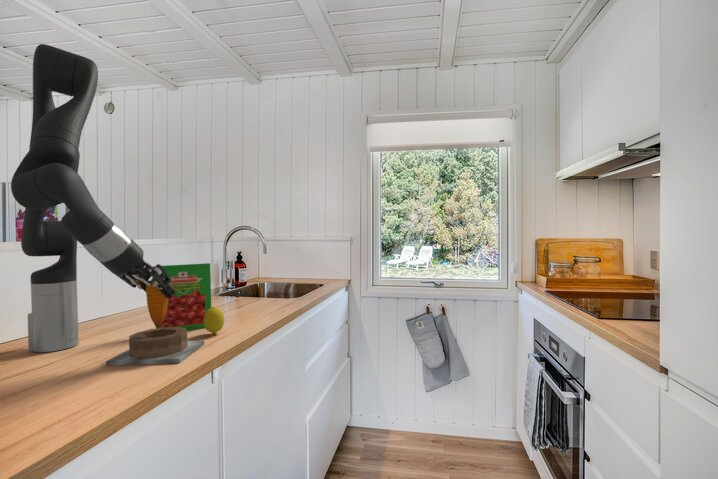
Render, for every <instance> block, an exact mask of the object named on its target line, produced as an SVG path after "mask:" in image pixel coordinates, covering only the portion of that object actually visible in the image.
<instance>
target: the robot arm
mask: <svg viewBox="0 0 718 479" xmlns="http://www.w3.org/2000/svg"><path fill="white" fill-rule="evenodd" d="M98 83H99V70H98V65H97V64H96V62H95V61H94V60H93V59H90V58H88V57H85V56H83V55H80V54H77V53H74V52H70V51H67V50H64V49H61V48H60V47H59V48H58V47H55V46H52V45H49V44H45V43H40V44H38V45H37V46H36V48H35V51H34V54H33V60H32V120H31V121H32V123H31V131H30V132H31V133H30V139H29V140H30V141H29V146H28V147H29V148H28V151H27V153H26V154H25V156H23V158H22V160H21V161H20V162H19V163H20V164H19V165H18V166H17V168H16V169H15V172H14V173H13V175H12V178H11V180H10V181H11V182H10V191H11V193H12V197H13V198H14V200H15V201H16V202H17V203H18V205H20V206H22V207H23V208H25V210H24V216H23V222H22V228H21V235H20V236H21V237H20V244H21V250H22V252H23V254H24V255H26V256H27V257H55V256H56V257H57V256H59V257H58V258H59V259H58V260H57V261H56V262H55V263H53V264H51V265H49V266H47V267H44V268H41V269H38V270H35V271H33V272H31V274H30V298H31V301H30V302H31V303H30V304H31V312H29V313H28V314H27V337H28V338H27V340H28V341H27V342H28V343H27V344H28V345H27V346H28V352H34V353H51V352H57V351H62V350H67V349H70V348H73V347H76V346H77V345H79V343H80V342H79V341H80V340H79V339H80V338H79V312H78V311H79V310H78V309H79V307H78V282H77V280H78V278H77V274H78V272H77V270H78V268H77V265H78V264H77V261H78V260H77V255H78V254H77V253H78V244H79V243H80V244H81V245H82V246H83V247H84V249H85V250H86V251H87V252H88V253H89V254H90V255H91V256H92V257H93V258H94V259H95V260H97V261H98V262H99V263H100V264H101V265H103V266H104V267H105V268H106V269H107V270H108V271H109V272H111V274H113V275H115V276H116V277H118V278H119V279H120V280H121V281H124V282H125V283H126V284H128V285H129V286H130V287H131V288H133V289H134V288H136V287H137V289H139V290H143V291H144V292H145V293H146V285H149V286H151V285H153V286H154V287H155V288H157V289H158V290H159V291H160V292H162V293H163V294H164V295H165V296H166V297H167V298H168V299H172V298H173V296H174V295H175V293H176V291H175V290H174V289H173V288H172V287H171V286H170V285H169V283H170V282H171V278H170V277H169V276H168V274H167V273H166V271H165V270H164V269H163V267H162V266H163V265H162V264H156V265H154V266H155V267H154V266H153V265H152V264H150V263H149V262H147V261H146V260H144V250H143V249H142V247H141V246H140V245H138V243H136V241H134V240H133V239H132V238H131V237H130V236H129V234H127V233H126V231H124V229H122V228H121V227H120V226H119V225H117V224H115V222H113V220H112V219H111V218H109V216H107V214H106V213H104V212H103V210H102V209H100V208H99V207H98V205H97V203H96V201H95V199H94V198H93V195H92V194H91V192H90V191H89V189H88V187H87V185H86V183H85V181H84V180H83V178H82V176H80V174H79V164H80V158H81V157H80V156H81V155H80V154H81V153H80V151H79V149H80V142H81V137H82V132H83V130H84V126H85V123H86V121H87V119H88V116H89V114H90V110H91V108H92V105H93V102H94V99H95V96H96V92H97V89H98V88H97V87H98ZM53 92H54V93H58V94H61V95H65V96H69V97H71V99H70V100H68V101H66V102H65V103H63V104H61V105H59V106H57V107H56V105H55V102H54V98H53ZM61 204H64V205H65V206H66V207H67V209H68V211H67V212H66V213H64V215H63V216H62V217H61V220H44V219H45V217H46V214H47V212H48V210H49V208H53V207H56V206H59V205H61ZM152 277H153V278H152ZM164 278H165V279H164ZM155 281H156V282H157V283H158V284H159V285H158V284H157V283H156V282H155Z"/></svg>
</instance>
